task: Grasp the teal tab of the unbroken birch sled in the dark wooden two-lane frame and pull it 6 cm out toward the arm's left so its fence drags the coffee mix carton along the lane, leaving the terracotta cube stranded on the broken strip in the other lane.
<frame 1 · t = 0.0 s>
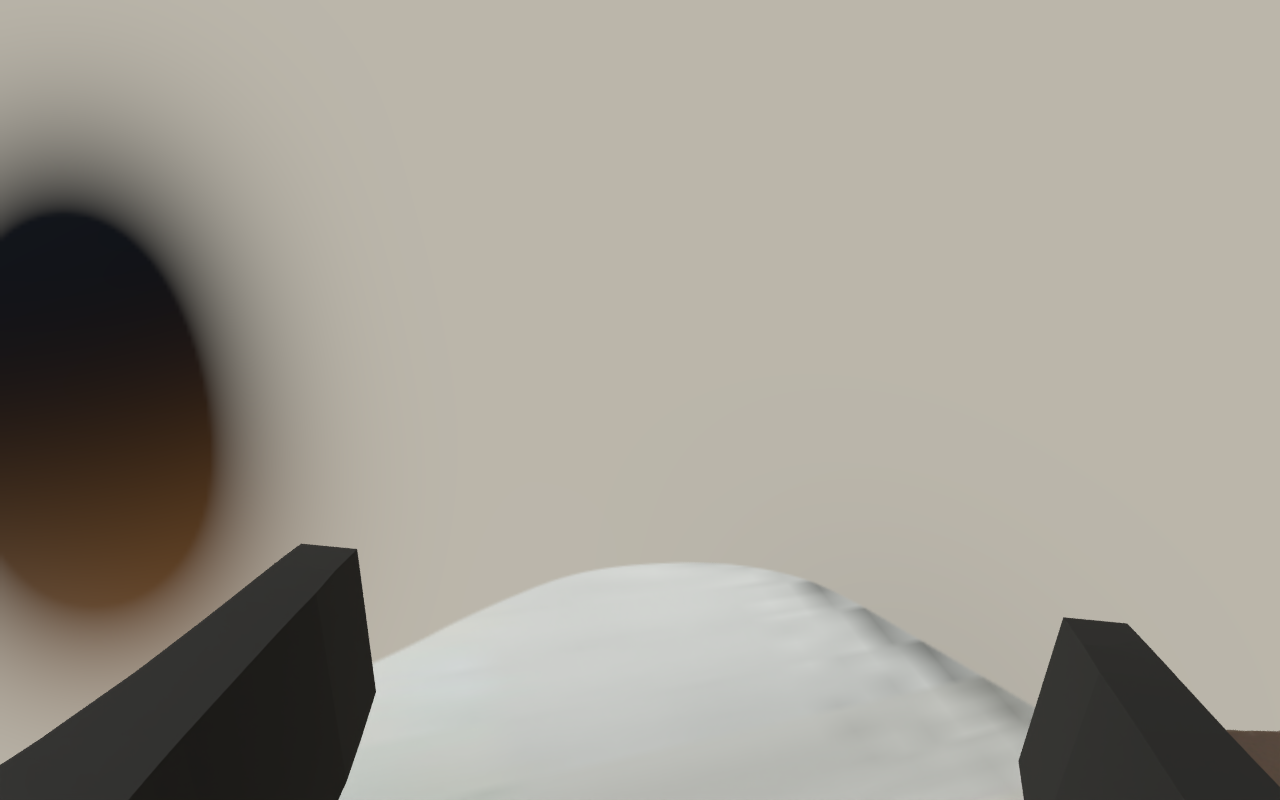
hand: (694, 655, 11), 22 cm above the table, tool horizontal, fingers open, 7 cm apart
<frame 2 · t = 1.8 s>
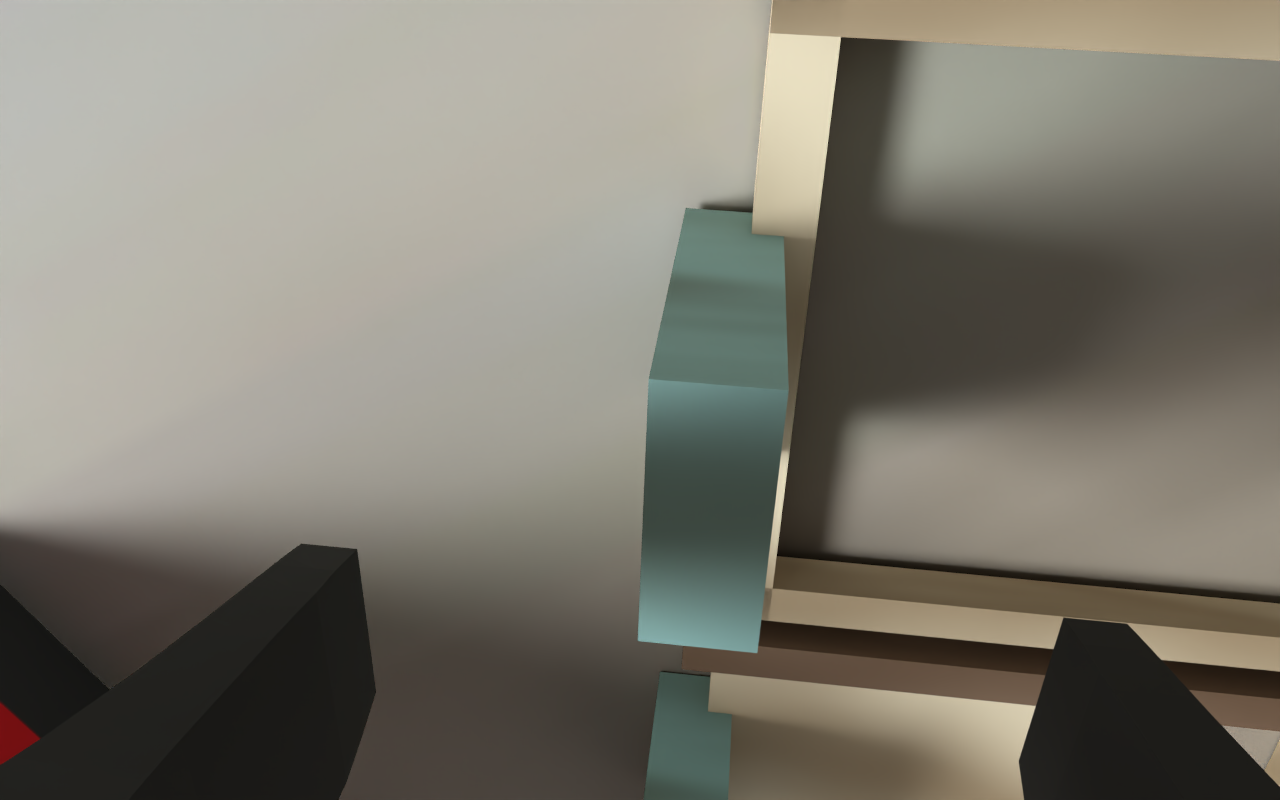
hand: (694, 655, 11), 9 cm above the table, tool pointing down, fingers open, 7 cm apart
lane frame: (1268, 544, 19), on the table
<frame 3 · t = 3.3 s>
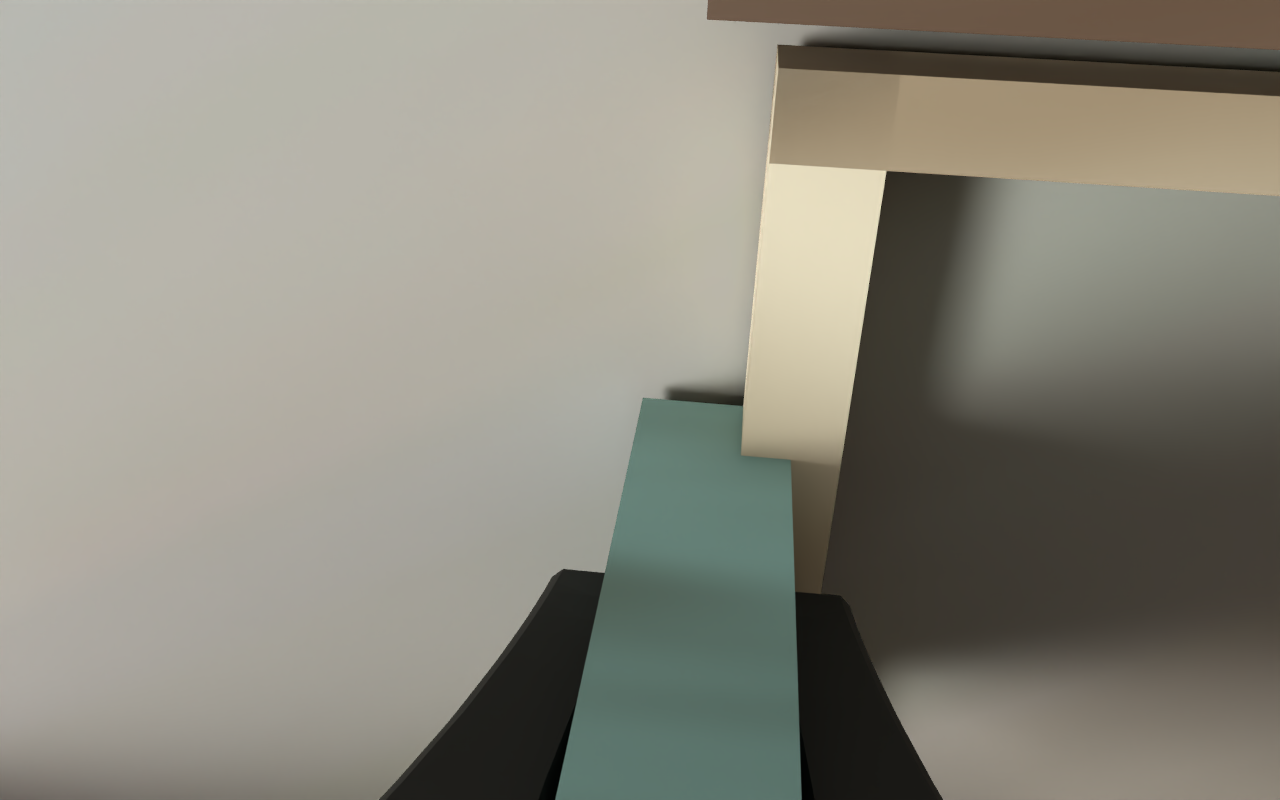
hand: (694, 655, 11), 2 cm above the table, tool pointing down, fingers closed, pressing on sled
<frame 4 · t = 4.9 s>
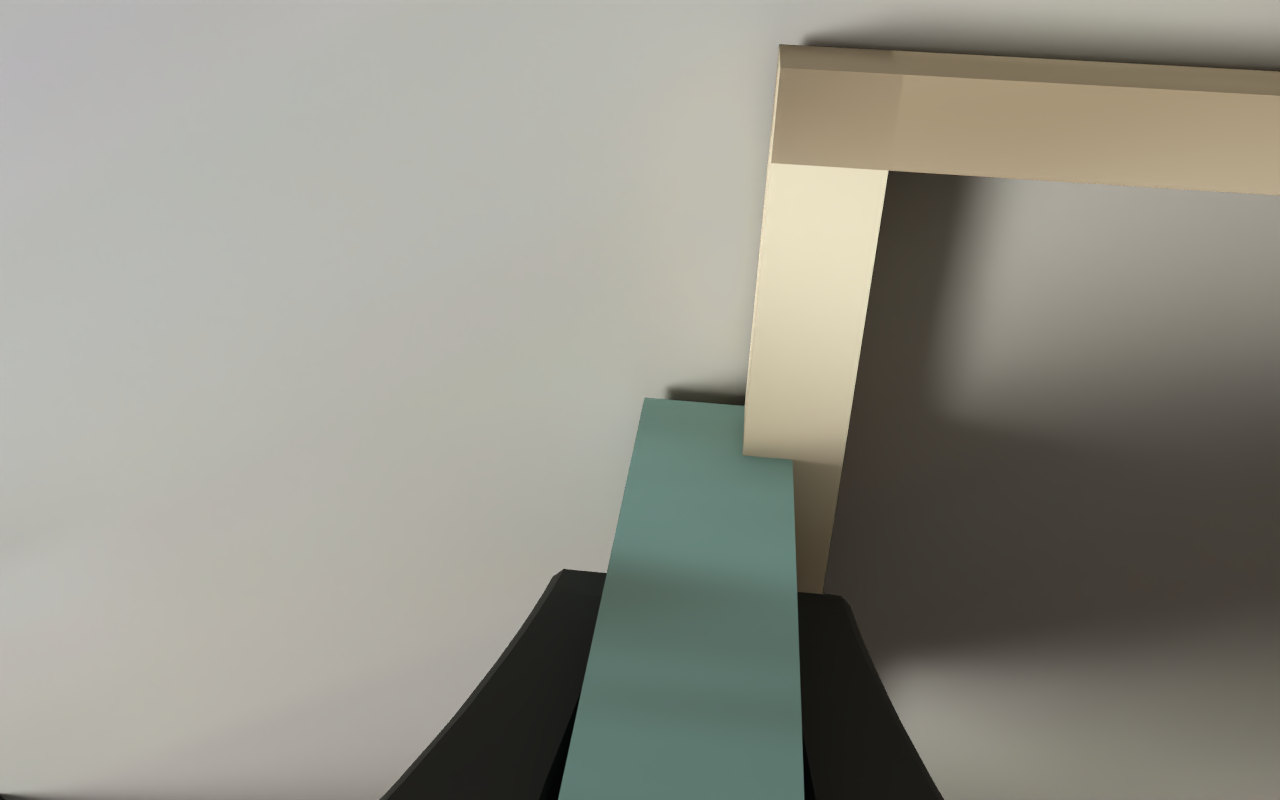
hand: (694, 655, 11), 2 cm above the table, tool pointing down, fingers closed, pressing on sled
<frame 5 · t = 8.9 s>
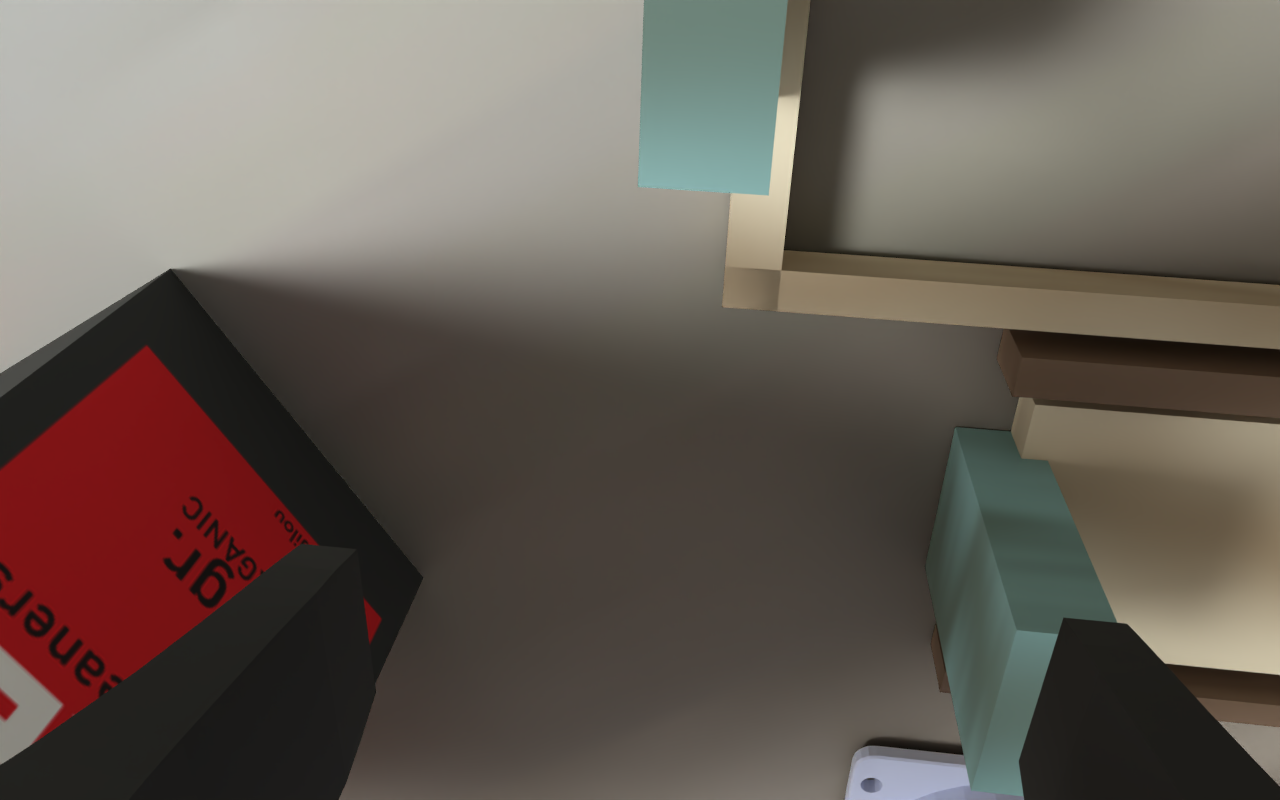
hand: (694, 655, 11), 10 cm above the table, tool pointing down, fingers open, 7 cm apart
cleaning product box: (61, 556, 26), on the table
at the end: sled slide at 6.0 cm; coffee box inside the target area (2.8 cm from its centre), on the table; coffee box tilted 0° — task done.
